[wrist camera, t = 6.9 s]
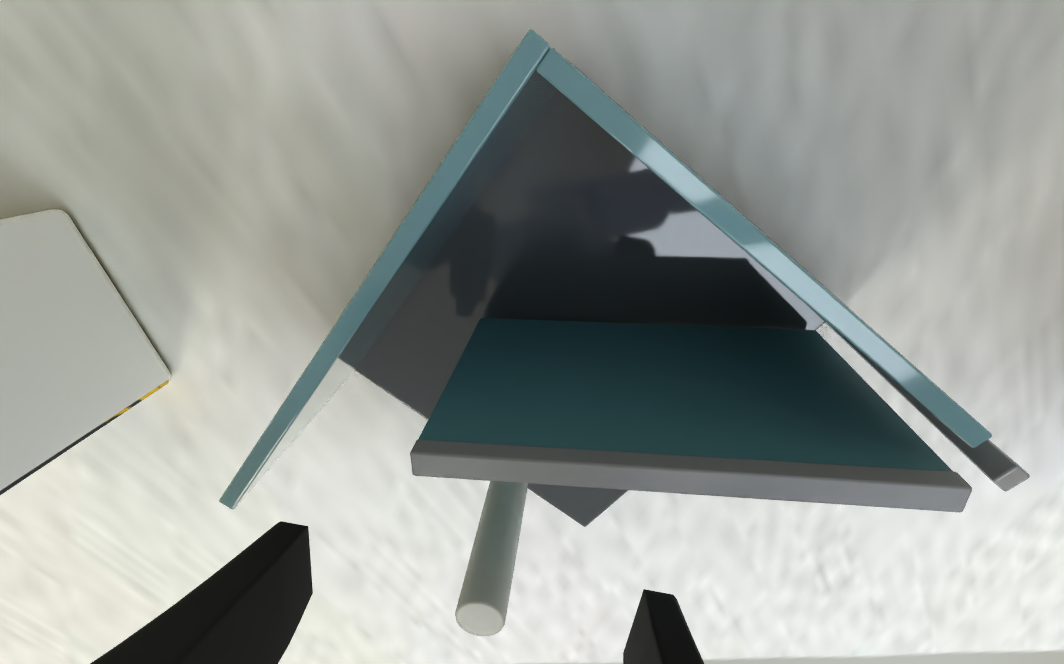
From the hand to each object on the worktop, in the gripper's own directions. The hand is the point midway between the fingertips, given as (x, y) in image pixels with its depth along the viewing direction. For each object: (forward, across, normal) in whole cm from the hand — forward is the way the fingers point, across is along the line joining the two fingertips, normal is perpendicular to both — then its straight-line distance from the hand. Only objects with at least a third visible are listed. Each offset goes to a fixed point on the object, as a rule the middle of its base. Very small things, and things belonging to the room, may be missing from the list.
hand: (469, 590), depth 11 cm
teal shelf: (+8, -4, -1) cm, 9 cm away
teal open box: (+9, -2, -2) cm, 9 cm away
